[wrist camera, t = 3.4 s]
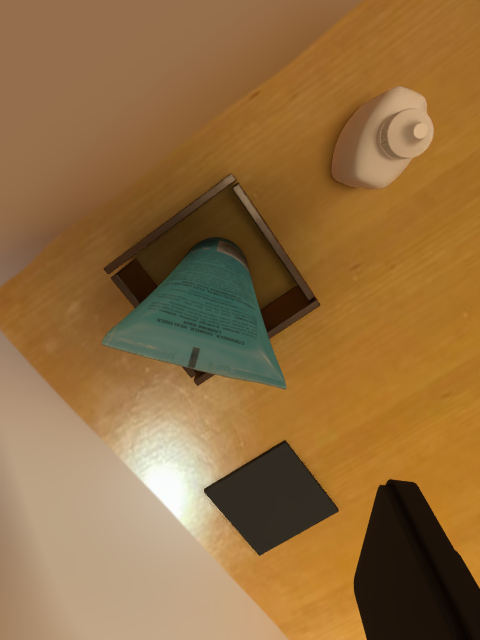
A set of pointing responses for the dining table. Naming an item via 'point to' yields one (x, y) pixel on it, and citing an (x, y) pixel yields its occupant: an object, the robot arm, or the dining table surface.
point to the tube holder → (274, 315)
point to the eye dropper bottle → (382, 139)
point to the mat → (271, 498)
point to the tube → (203, 319)
